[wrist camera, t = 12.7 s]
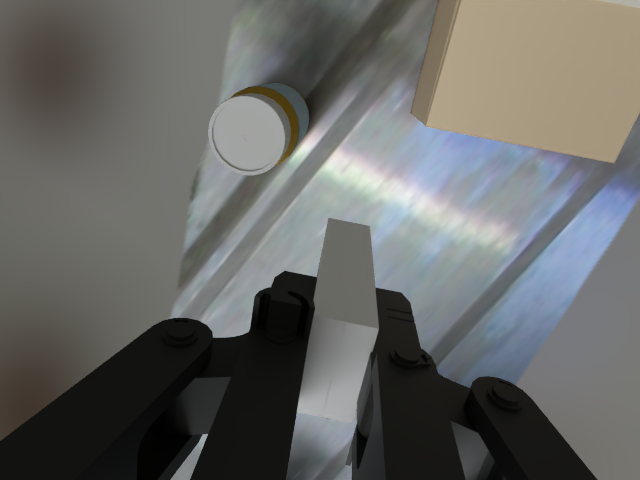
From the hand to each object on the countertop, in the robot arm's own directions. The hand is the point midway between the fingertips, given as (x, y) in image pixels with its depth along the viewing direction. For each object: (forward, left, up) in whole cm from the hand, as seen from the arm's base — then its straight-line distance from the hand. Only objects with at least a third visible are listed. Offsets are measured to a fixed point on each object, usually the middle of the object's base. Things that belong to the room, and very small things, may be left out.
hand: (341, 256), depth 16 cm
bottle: (0, +8, -35) cm, 36 cm away
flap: (+10, -14, -23) cm, 29 cm away
